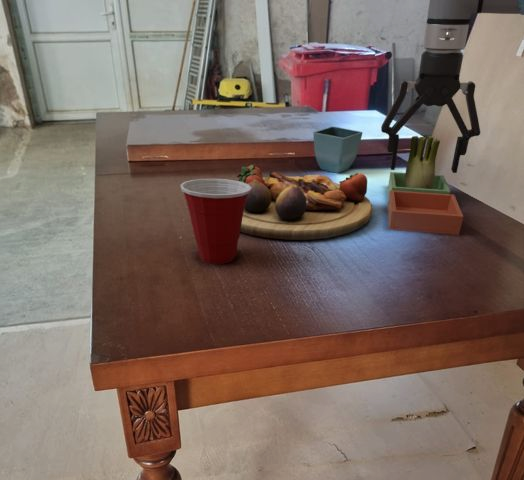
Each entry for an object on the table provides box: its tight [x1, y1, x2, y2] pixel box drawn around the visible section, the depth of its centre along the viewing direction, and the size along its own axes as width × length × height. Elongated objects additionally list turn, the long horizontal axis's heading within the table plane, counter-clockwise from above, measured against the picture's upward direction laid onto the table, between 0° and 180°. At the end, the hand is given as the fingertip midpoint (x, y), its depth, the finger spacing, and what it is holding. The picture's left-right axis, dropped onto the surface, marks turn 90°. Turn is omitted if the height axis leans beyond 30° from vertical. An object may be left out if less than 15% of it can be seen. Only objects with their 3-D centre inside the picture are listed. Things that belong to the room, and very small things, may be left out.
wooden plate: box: [236, 163, 374, 241], centre depth 102 cm, size 32×32×8 cm
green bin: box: [387, 171, 451, 195], centre depth 112 cm, size 12×12×4 cm
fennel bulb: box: [404, 135, 441, 189], centre depth 109 cm, size 6×5×12 cm
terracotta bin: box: [386, 190, 464, 236], centre depth 101 cm, size 13×13×4 cm
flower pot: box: [312, 126, 364, 174], centre depth 127 cm, size 9×9×9 cm
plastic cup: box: [179, 178, 252, 265], centre depth 83 cm, size 11×11×12 cm
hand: (422, 169), depth 110 cm, fingers open, 12 cm apart
